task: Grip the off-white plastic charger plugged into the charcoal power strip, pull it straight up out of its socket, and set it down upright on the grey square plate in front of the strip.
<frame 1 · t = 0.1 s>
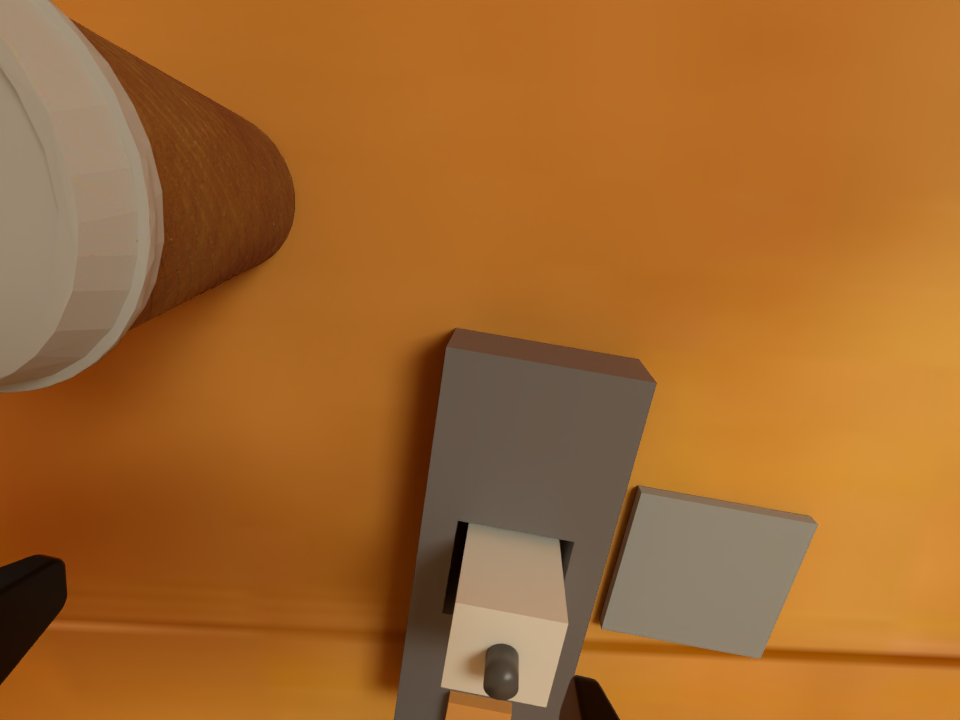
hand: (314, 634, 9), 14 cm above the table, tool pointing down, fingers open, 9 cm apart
power strip: (507, 535, 25), on the table
grey square plate: (699, 570, 24), on the table
disposable coffee cup: (225, 193, 21), on the table
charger: (507, 535, 25), resting in power strip
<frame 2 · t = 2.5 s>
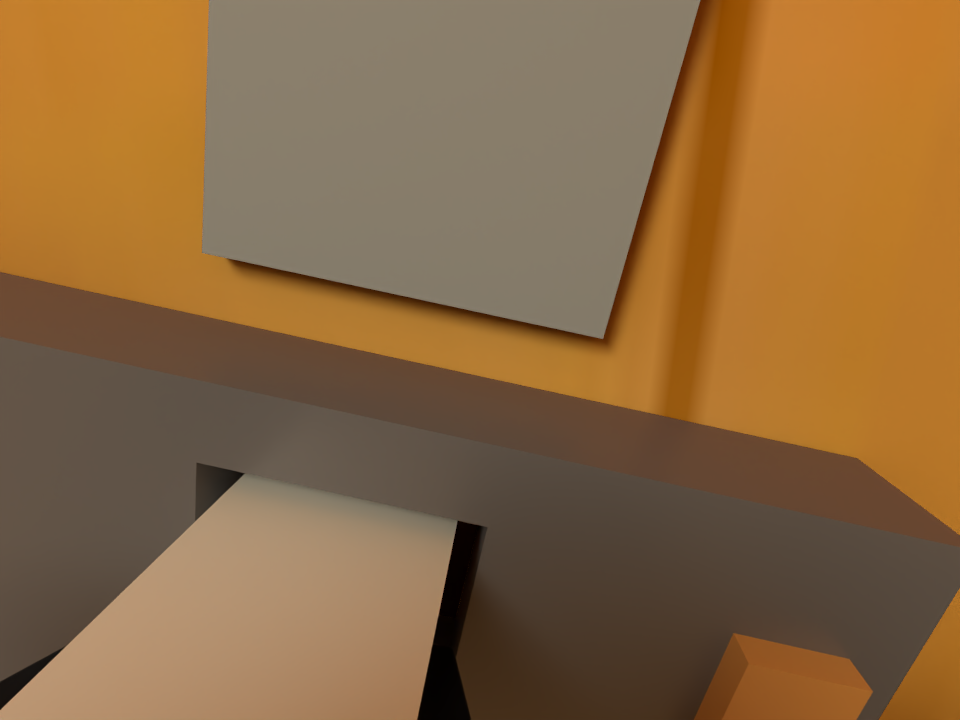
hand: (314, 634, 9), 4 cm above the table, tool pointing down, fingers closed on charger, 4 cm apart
power strip: (372, 514, 12), on the table
grey square plate: (441, 75, 9), on the table
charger: (372, 513, 12), resting in power strip, touching gripper
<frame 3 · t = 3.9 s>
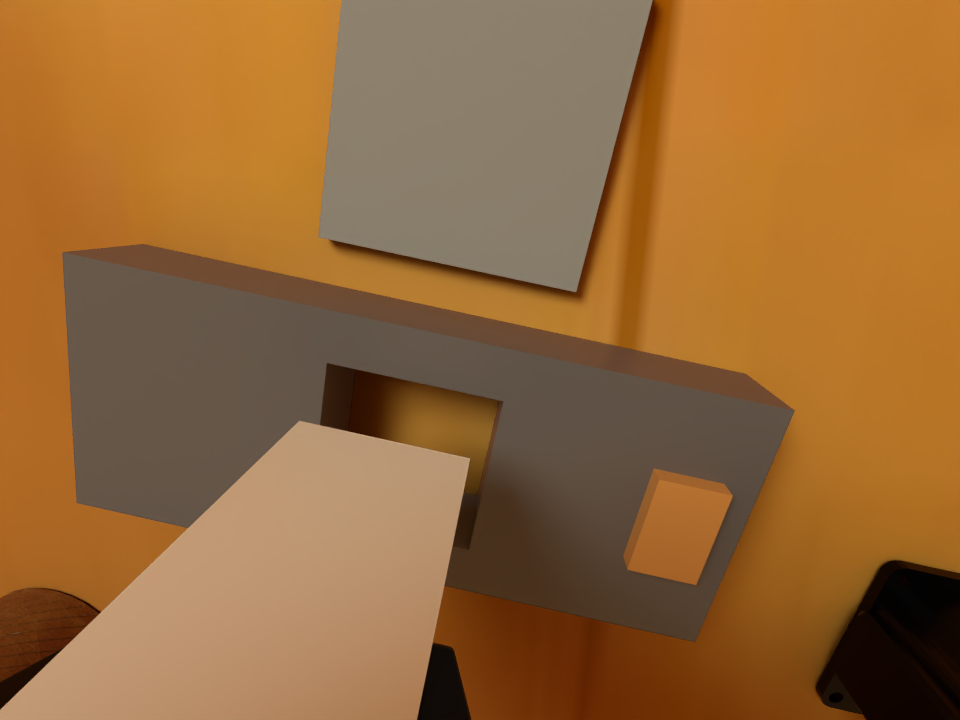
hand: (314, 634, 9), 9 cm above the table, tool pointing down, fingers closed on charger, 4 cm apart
power strip: (421, 419, 17), on the table
grey square plate: (474, 125, 14), on the table
disposable coffee cup: (63, 641, 22), on the table
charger: (373, 513, 12), point 6 cm above the table, touching gripper
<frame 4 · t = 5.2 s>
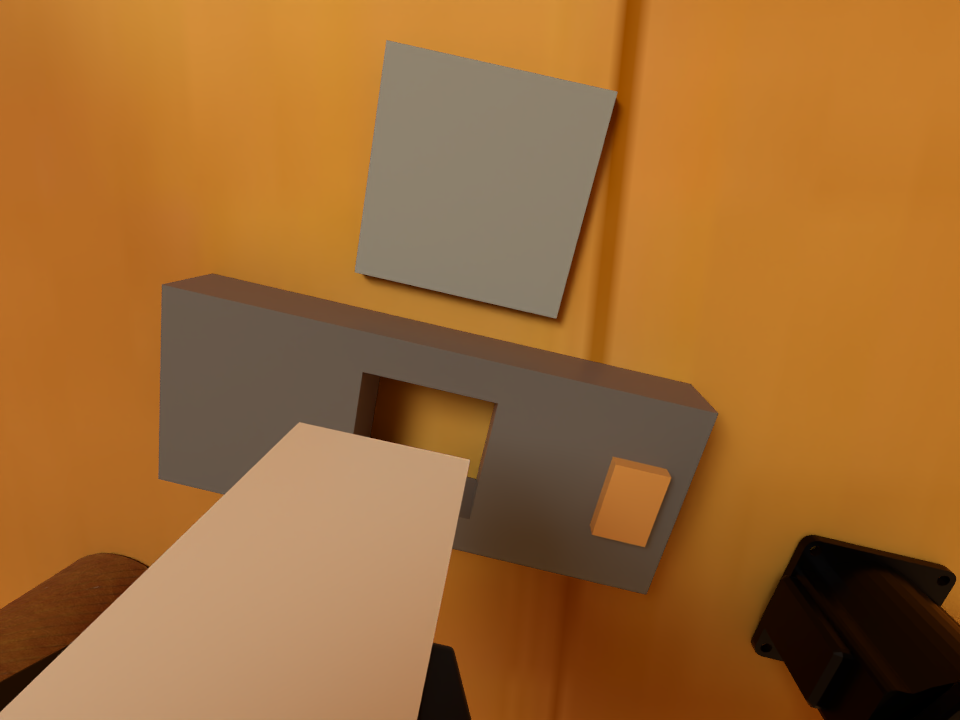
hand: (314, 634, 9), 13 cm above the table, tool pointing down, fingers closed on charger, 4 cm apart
power strip: (432, 416, 22), on the table
grey square plate: (478, 188, 19), on the table
disposable coffee cup: (124, 600, 26), on the table
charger: (372, 514, 12), point 10 cm above the table, touching gripper
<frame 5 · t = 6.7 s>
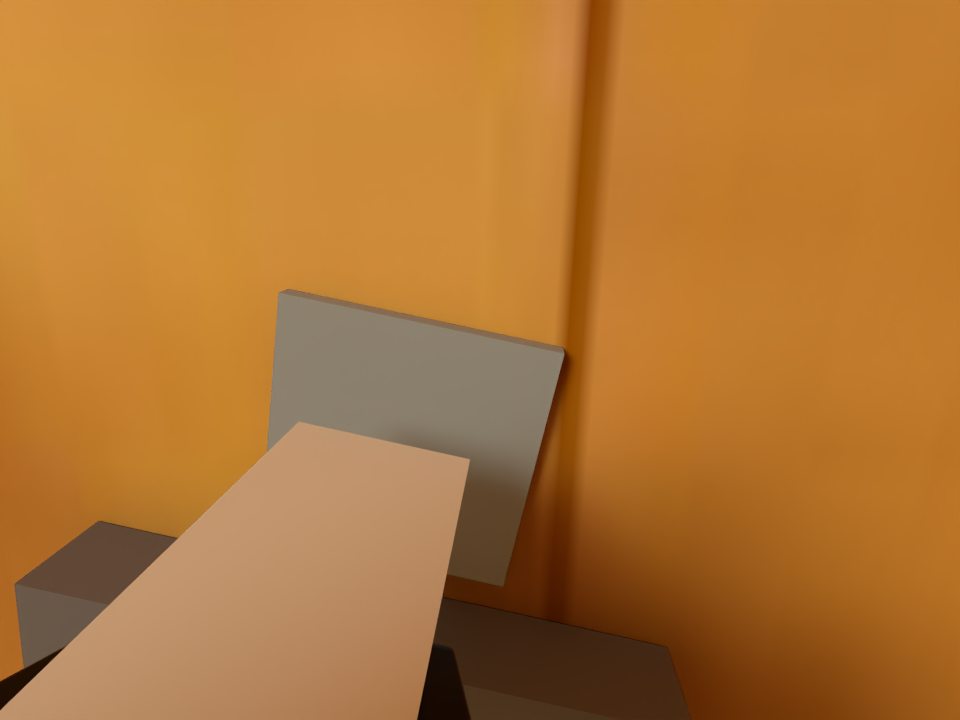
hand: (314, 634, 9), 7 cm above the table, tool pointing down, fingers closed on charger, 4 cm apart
power strip: (365, 670, 18), on the table
grey square plate: (404, 442, 15), on the table
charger: (372, 514, 12), point 4 cm above the table, touching gripper
when the fingers open (5 cm above the table, at t = 7.8 s): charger drops 1 cm, resting on grey square plate.
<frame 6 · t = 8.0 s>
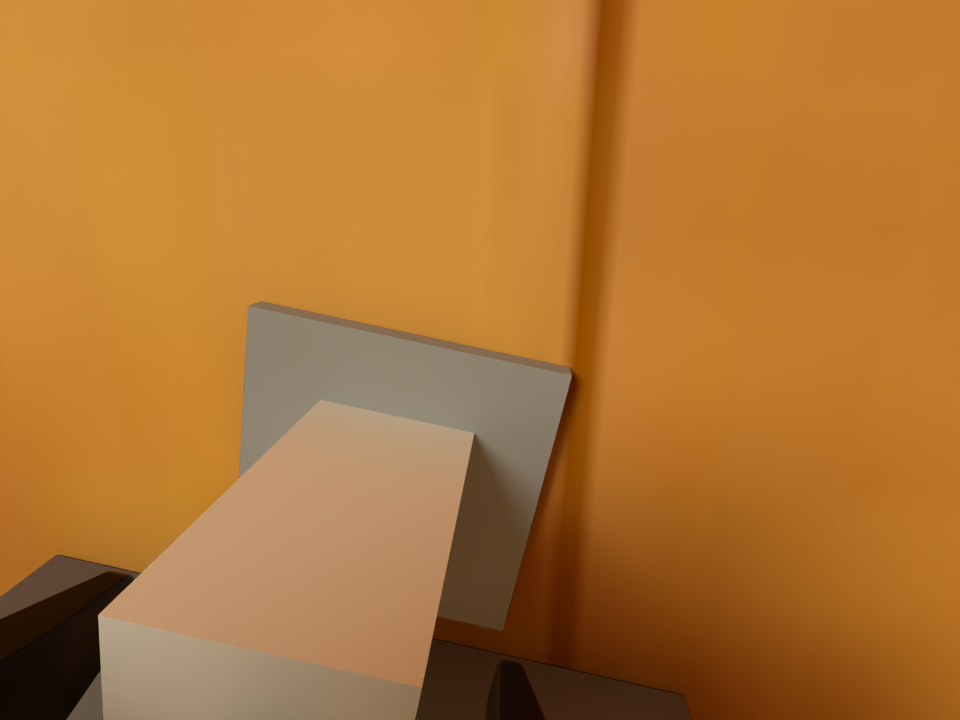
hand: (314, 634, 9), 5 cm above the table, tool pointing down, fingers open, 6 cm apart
power strip: (351, 716, 17), on the table
grey square plate: (392, 471, 14), on the table
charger: (386, 483, 13), point 1 cm above the table, touching grey square plate
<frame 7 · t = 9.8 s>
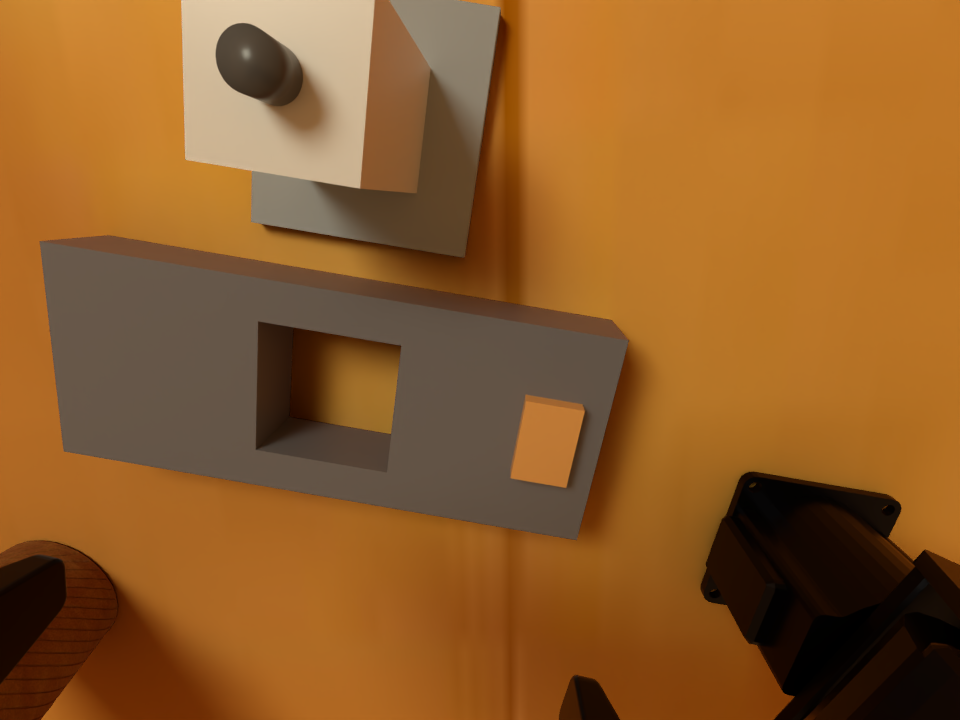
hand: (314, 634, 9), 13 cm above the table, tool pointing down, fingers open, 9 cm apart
power strip: (350, 372, 21), on the table
grey square plate: (371, 125, 18), on the table
disposable coffee cup: (61, 589, 26), on the table
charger: (366, 123, 17), point 1 cm above the table, touching grey square plate
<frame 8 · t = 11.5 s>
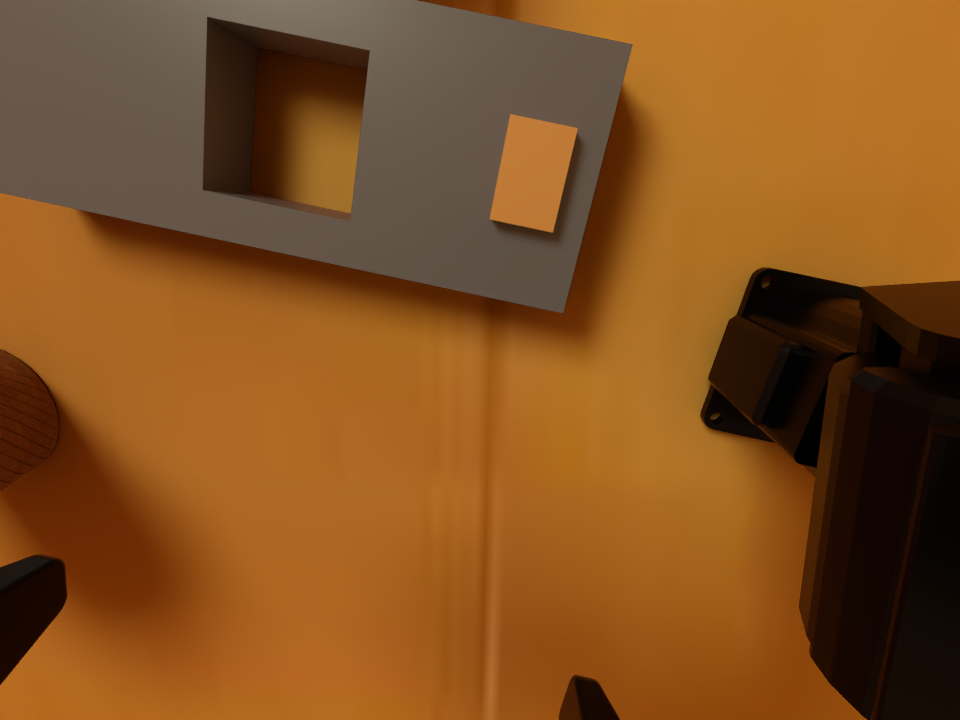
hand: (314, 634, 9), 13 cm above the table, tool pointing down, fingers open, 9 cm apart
power strip: (319, 136, 18), on the table
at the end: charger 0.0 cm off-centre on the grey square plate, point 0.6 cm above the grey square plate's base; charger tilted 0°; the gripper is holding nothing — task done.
